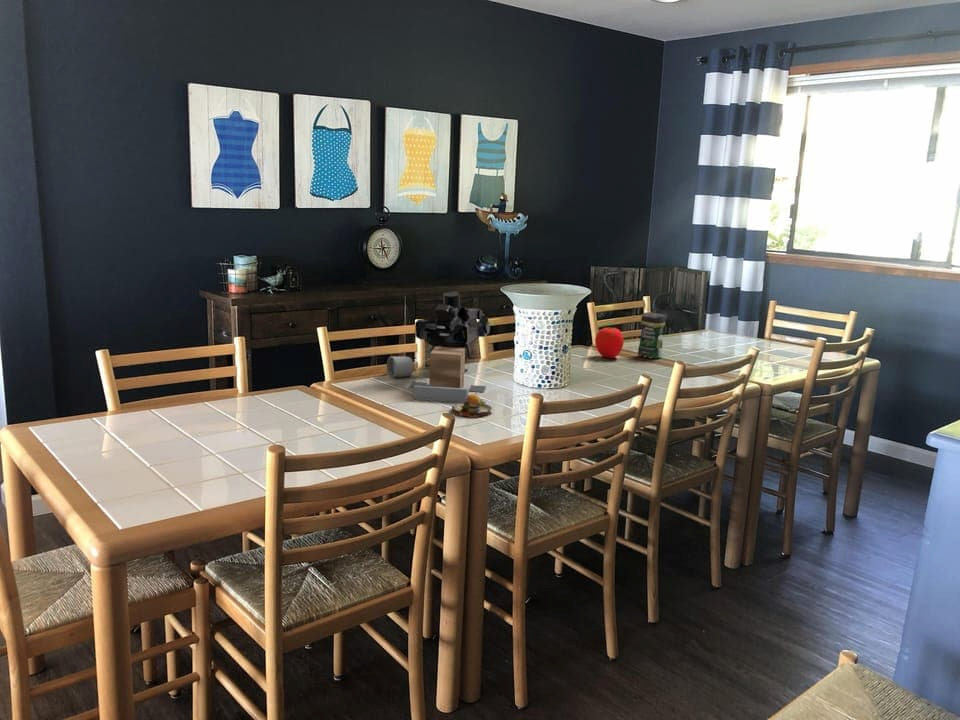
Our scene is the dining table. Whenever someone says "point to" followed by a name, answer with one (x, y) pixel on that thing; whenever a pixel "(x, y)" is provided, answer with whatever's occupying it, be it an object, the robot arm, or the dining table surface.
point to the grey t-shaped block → (440, 393)
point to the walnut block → (447, 367)
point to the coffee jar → (651, 335)
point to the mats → (472, 389)
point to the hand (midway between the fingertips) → (433, 339)
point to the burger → (472, 407)
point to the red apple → (609, 342)
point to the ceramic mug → (400, 366)
